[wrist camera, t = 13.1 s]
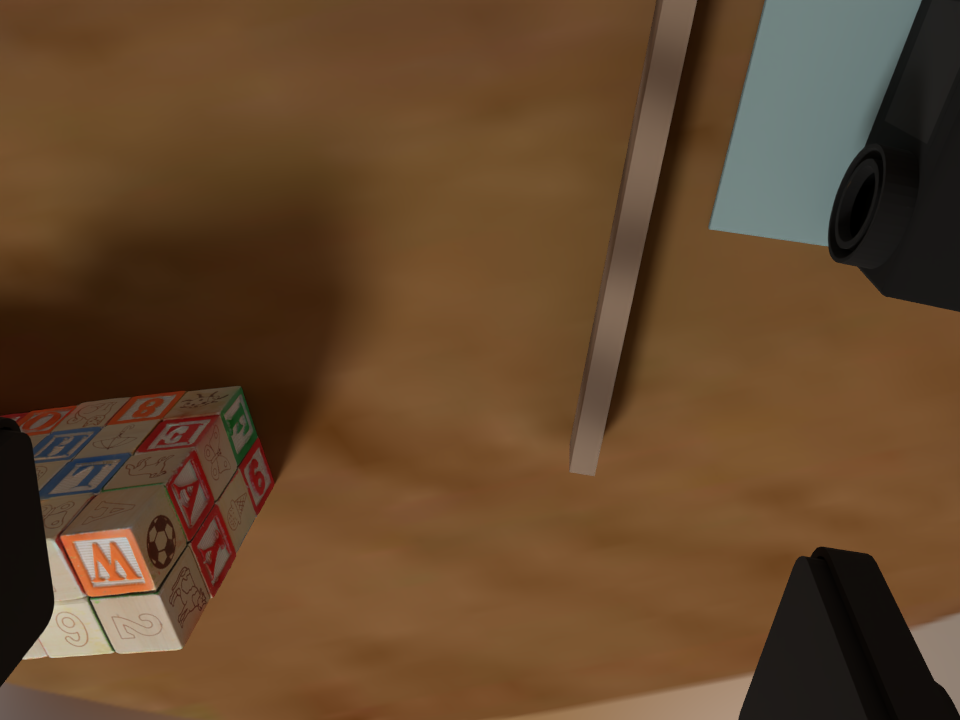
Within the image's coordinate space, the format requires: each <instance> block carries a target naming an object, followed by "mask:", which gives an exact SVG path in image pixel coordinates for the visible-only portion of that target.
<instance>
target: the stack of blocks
mask: <svg viewBox="0 0 960 720" xmlns="http://www.w3.org/2000/svg"><path fill="white" fill-rule="evenodd" d="M0 417H6V418H10V419H12V420H15V421H16V423H17V424H18V425H19V427H20V430H21V432H24V433H26V434H28V436H29V437H30V438H31V442H32V446H33V453H34V460H35V467H36V474H37V481H38V488H39V495H40V502H41V508H42V515H43V522H44V529H45V536H46V543H47V550H48V557H49V564H50V571H51V577H52V584H53V591H54V610H53V613H52V617H51V619H50V621H49V624H48V626H47V627H46V629H45V630H44V632H43V633H42V634H41V636H40V637H39V638H38V639H37V641H36V642H35V643H34V644H33V646H32V647H31V648H30V650H29V651H28V652H27V653H26V655H25V656H24V657H23V659H36V658H43V657H46V656H49V657H52V658H57V657H69V656H85V655H97V654H110V653H113V652H115V651H116V652H117V653H120V654H128V653H141V652H157V651H173V650H179V649H182V648H183V647H184V645H185V644H186V642H187V640H188V639H189V637H190V635H191V633H192V631H193V629H194V628H195V626H196V624H197V622H198V620H199V618H200V617H201V615H202V613H203V611H204V609H205V607H206V605H207V603H208V601H209V599H210V598H213V597H214V596H215V594H216V592H217V590H218V589H219V587H220V586H221V583H222V581H223V580H224V578H225V576H226V574H227V572H228V571H229V569H230V568H231V565H232V563H233V561H234V559H235V557H236V553H237V551H238V550H239V548H240V546H241V544H242V542H243V540H244V538H245V536H246V534H247V532H248V531H249V529H250V527H251V525H252V523H253V521H254V519H255V517H257V515H258V514H259V512H260V510H261V509H262V507H263V505H264V503H265V501H266V499H267V497H268V496H269V494H270V492H271V490H272V489H273V487H274V480H273V477H272V474H271V471H270V468H269V465H268V462H267V459H266V456H265V454H264V451H263V448H262V445H261V442H260V439H259V437H258V436H257V433H256V430H255V427H254V424H253V421H252V418H251V415H250V412H249V409H248V406H247V403H246V400H245V397H244V393H243V390H242V387H241V386H232V387H224V388H215V389H206V390H197V391H188V392H187V391H176V392H168V393H159V394H151V395H142V396H135V397H125V398H115V399H107V400H99V401H92V402H84V403H81V404H80V405H77V406H68V407H61V408H51V409H43V410H35V411H31V412H29V413H18V414H9V415H2V416H0Z"/></svg>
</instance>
